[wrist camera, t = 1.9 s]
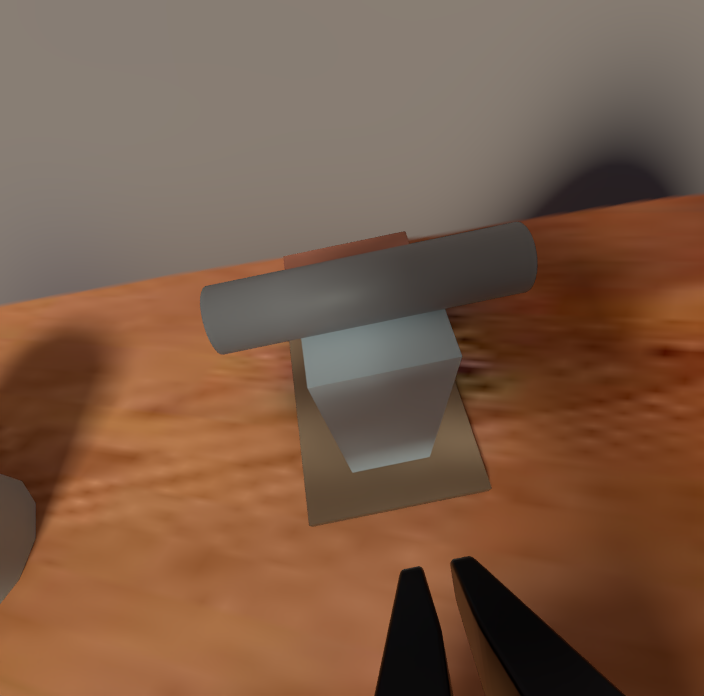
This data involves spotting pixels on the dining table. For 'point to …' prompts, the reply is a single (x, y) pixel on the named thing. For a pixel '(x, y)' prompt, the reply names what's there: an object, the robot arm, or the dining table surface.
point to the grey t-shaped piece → (375, 331)
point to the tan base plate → (388, 481)
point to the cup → (14, 531)
